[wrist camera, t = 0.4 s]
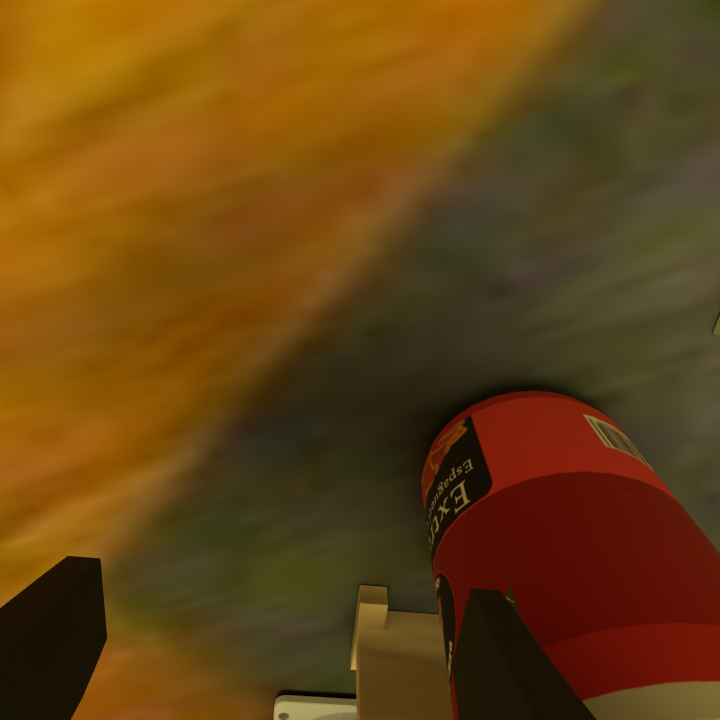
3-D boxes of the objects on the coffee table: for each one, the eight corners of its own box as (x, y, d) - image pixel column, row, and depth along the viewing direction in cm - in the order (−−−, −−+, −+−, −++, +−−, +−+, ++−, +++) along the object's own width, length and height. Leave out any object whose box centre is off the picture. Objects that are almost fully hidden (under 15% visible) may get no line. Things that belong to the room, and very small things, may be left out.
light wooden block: (620, 667, 24) (701, 817, 19) (351, 649, 24) (350, 799, 18) (645, 605, 23) (740, 746, 17) (359, 584, 22) (361, 724, 17)
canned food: (414, 390, 18) (474, 730, 8) (640, 375, 18) (980, 712, 8) (420, 542, 22) (467, 906, 12) (609, 532, 21) (818, 900, 11)
